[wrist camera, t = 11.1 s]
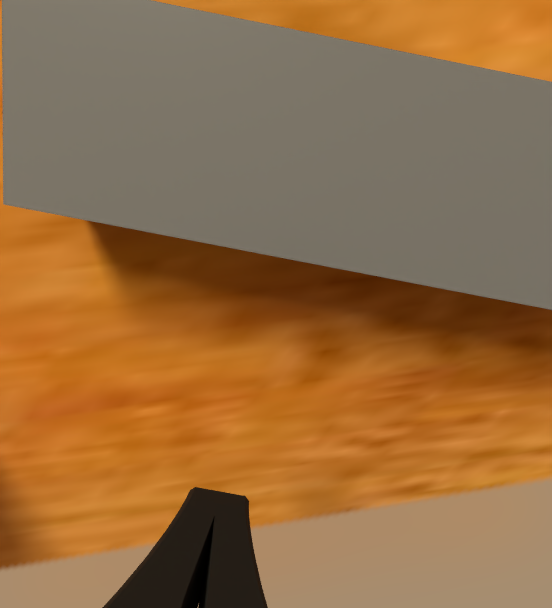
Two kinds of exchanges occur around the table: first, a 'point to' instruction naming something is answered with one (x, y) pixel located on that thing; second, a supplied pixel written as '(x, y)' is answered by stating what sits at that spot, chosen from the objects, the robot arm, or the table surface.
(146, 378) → the table surface
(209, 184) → the charging dock
